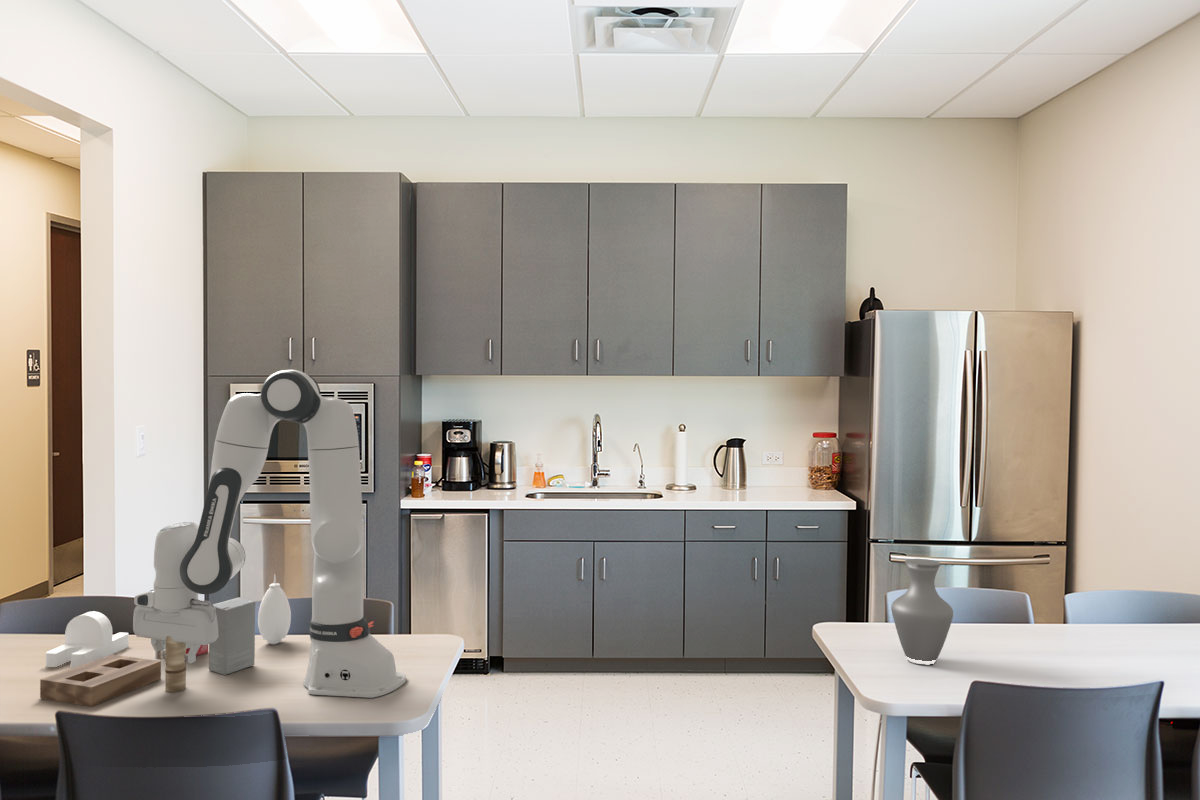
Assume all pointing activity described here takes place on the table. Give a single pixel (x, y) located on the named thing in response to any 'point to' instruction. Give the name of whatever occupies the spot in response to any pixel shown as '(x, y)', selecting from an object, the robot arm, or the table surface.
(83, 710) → the table surface
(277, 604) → the white bulb air blower
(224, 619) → the skincare box
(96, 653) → the white slotted holder
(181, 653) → the dowel
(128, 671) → the board
